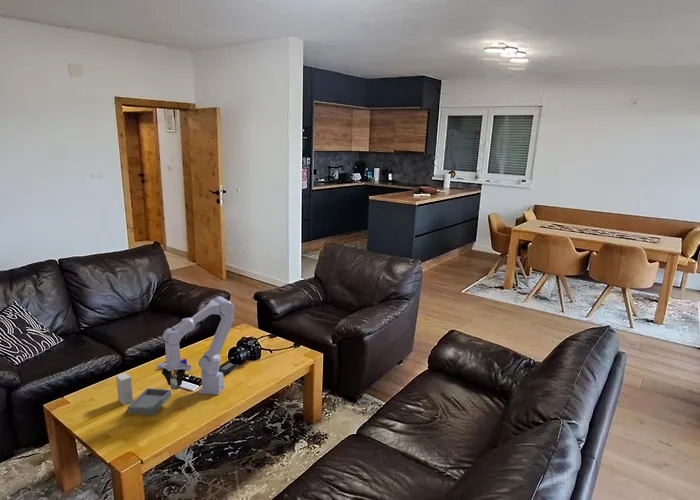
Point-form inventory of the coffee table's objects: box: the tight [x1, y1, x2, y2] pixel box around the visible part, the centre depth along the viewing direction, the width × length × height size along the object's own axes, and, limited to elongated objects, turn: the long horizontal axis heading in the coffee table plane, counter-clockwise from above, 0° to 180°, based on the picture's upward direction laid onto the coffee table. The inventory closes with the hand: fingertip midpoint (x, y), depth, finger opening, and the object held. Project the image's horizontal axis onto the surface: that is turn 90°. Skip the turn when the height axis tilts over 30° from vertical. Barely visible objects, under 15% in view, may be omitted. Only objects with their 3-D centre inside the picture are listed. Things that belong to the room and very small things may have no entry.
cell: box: [169, 374, 181, 390], centre depth 196 cm, size 4×4×6 cm
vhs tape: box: [219, 359, 240, 377], centre depth 228 cm, size 8×14×2 cm, turn 156°
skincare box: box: [115, 372, 134, 406], centre depth 196 cm, size 6×4×12 cm
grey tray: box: [127, 387, 172, 416], centre depth 195 cm, size 11×15×3 cm
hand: (175, 384), depth 196 cm, fingers closed on cell, 4 cm apart
